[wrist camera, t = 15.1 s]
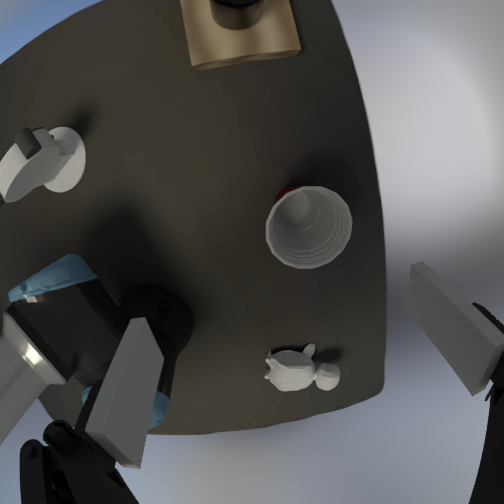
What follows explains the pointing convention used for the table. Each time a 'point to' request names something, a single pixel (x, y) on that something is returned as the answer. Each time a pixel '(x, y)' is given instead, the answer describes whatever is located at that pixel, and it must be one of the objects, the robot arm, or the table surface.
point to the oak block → (239, 36)
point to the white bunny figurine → (300, 370)
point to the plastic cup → (308, 226)
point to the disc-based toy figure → (42, 162)
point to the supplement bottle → (236, 13)
